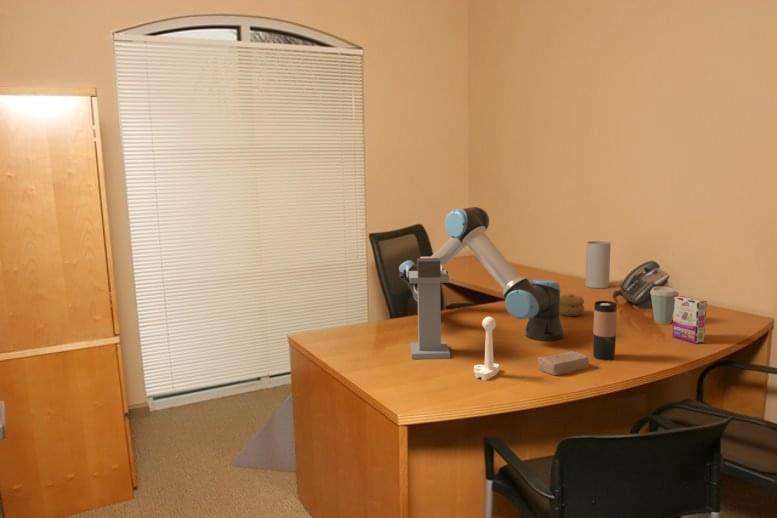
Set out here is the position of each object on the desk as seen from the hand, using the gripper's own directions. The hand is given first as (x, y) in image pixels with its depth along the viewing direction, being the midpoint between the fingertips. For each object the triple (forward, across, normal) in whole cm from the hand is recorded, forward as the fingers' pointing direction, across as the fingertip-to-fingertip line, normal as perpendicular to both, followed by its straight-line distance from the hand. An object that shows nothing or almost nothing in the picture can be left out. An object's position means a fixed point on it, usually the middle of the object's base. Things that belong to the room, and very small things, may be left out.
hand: (424, 268), depth 237 cm
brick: (+19, -45, -46) cm, 67 cm away
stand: (+1, 0, -34) cm, 34 cm away
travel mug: (+10, -63, -40) cm, 75 cm away
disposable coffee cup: (-28, -104, -18) cm, 109 cm away
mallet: (+12, -1, -6) cm, 14 cm away
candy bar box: (-6, -102, -31) cm, 107 cm away
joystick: (+23, -18, -47) cm, 55 cm away
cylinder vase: (-94, -102, +21) cm, 140 cm away
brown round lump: (-42, -69, -10) cm, 81 cm away
